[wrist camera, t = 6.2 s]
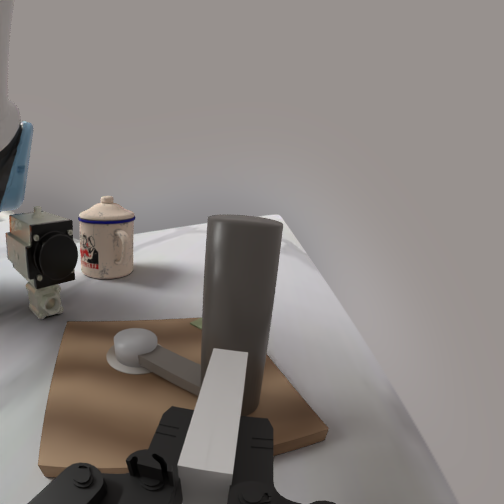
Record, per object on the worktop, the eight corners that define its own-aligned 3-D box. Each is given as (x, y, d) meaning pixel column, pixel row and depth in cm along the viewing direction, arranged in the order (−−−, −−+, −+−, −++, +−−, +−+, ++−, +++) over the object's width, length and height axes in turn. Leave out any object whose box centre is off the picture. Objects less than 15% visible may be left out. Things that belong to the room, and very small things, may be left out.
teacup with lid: (72, 267, 45) (71, 195, 42) (119, 259, 52) (120, 193, 49) (100, 291, 38) (98, 202, 35) (155, 279, 45) (157, 200, 42)
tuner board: (69, 330, 27) (67, 318, 27) (234, 323, 34) (235, 312, 34) (44, 476, 11) (37, 463, 11) (324, 439, 18) (329, 426, 18)
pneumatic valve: (44, 292, 35) (38, 200, 32) (85, 325, 29) (78, 210, 26) (9, 301, 30) (0, 205, 27) (42, 340, 24) (27, 216, 21)
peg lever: (105, 355, 23) (96, 202, 20) (139, 338, 26) (137, 199, 23) (240, 429, 17) (262, 230, 14) (268, 397, 21) (293, 223, 18)
